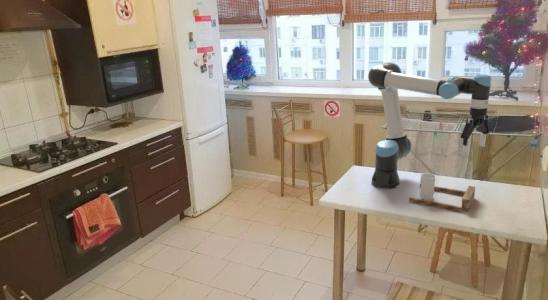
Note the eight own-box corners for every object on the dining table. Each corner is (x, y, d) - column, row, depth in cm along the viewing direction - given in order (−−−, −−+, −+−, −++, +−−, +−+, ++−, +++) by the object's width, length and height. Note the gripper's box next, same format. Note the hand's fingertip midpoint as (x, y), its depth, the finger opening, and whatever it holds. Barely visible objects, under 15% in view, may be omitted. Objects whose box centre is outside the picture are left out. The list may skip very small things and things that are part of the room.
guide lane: (409, 201, 212) (409, 198, 211) (420, 186, 228) (420, 183, 227) (460, 211, 199) (460, 207, 198) (468, 195, 215) (468, 191, 214)
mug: (433, 201, 211) (434, 179, 207) (418, 199, 213) (420, 177, 210) (434, 193, 220) (436, 171, 216) (420, 191, 222) (422, 170, 218)
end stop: (460, 210, 201) (461, 198, 199) (466, 196, 214) (467, 185, 212) (468, 211, 199) (469, 200, 197) (474, 197, 212) (475, 186, 210)
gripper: (470, 112, 195) (464, 155, 202) (501, 104, 207) (495, 145, 214) (455, 109, 201) (451, 151, 208) (486, 102, 213) (481, 141, 220)
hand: (473, 148), depth 211 cm, fingers open, 13 cm apart
